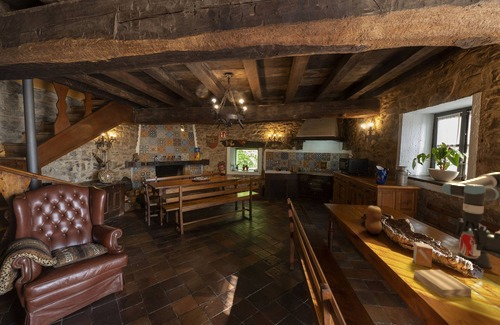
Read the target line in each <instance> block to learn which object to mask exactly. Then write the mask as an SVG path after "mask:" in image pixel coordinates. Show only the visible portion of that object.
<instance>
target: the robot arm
mask: <svg viewBox="0 0 500 325" xmlns="http://www.w3.org/2000/svg"><path fill="white" fill-rule="evenodd" d="M497 189H499V190H500V172H499V171H498V172H491V173H490V172H489V173H484V174H480V175H479V176H477V177H476V178H471V179H468V180H467V179H466V180H464V181H459V182H455V183H452V182H444V184H443V185H442V187H441V190H442V192H443V194H445V195H450V196H454V197H455V196H456V197H461V198H463V200H462V201H463V202H462V214H461V216H462V218H460V217H459V218H458V217H457V225H456V230H455V234H456V235H458V239H459V240H458V241H459V243H460V241H461V234H462V233H463V232H471V233H473V235H474V238H475V242H476V243H474V249H473V255H475V256H479V257H478V258H476V259H473V258H468V257H465V256H463V255H462V254H461V253H460V250H458V252H457V255H458V256H460V257H462V258H464V259H466V260H469V261H471V262H472V263H473V264H475V265H478V266H480V267H479V268H485V269H488V268H489V269H490V268H491V267H492V262H491V260H490V256H489V253H491V254H494V255H496V256H499V257H500V230H498V231H494V234H492V233H491V231H490V230H488V226H484V225H482V221H483V218H484V209H485V208H484V207H485V202H489V201H490V202H491V201H494V200H497V199H498V198H499V197H500V192H499V191H498V190H497ZM458 248H459V249H460V244H459V246H458ZM478 266H477V267H478Z"/></svg>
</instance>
